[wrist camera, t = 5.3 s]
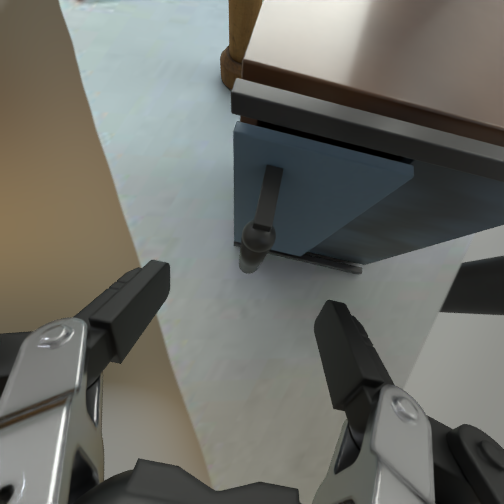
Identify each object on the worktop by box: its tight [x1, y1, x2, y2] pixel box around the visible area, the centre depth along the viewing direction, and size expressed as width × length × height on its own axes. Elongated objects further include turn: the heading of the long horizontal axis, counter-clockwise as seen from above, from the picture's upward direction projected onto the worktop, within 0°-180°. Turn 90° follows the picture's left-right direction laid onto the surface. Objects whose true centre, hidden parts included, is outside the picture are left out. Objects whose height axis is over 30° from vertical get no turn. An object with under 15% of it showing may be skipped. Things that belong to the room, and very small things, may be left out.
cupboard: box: [231, 0, 504, 274], centre depth 15 cm, size 15×12×16 cm
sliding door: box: [233, 121, 414, 274], centre depth 13 cm, size 7×4×13 cm, turn 78°
